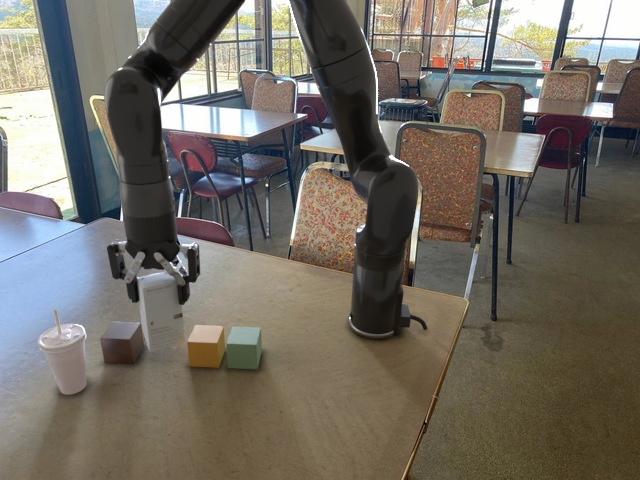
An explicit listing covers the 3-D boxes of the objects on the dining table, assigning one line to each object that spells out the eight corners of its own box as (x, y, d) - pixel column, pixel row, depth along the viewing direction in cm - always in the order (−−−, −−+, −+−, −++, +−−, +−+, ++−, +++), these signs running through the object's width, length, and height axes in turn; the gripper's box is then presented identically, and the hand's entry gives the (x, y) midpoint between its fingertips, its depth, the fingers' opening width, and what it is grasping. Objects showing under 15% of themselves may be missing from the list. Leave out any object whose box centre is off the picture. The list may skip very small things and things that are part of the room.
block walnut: (144, 346, 86) (141, 322, 84) (133, 364, 81) (129, 339, 79) (116, 345, 86) (112, 321, 84) (104, 362, 81) (99, 338, 79)
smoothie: (83, 368, 80) (68, 294, 74) (103, 385, 76) (88, 309, 70) (43, 387, 75) (23, 311, 70) (62, 407, 71) (43, 328, 66)
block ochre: (225, 349, 85) (223, 326, 83) (218, 367, 81) (217, 343, 79) (197, 348, 85) (195, 324, 83) (189, 366, 81) (186, 341, 79)
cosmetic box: (150, 354, 79) (141, 289, 74) (143, 340, 82) (133, 277, 77) (187, 342, 82) (180, 279, 77) (178, 329, 85) (171, 268, 80)
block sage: (261, 351, 85) (261, 327, 83) (257, 369, 81) (256, 344, 79) (233, 350, 85) (232, 326, 83) (227, 368, 81) (226, 343, 79)
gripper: (89, 213, 69) (106, 311, 76) (188, 217, 69) (197, 315, 75) (112, 197, 76) (126, 288, 82) (202, 200, 76) (209, 291, 82)
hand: (160, 301), depth 79 cm, fingers closed on cosmetic box, 7 cm apart
